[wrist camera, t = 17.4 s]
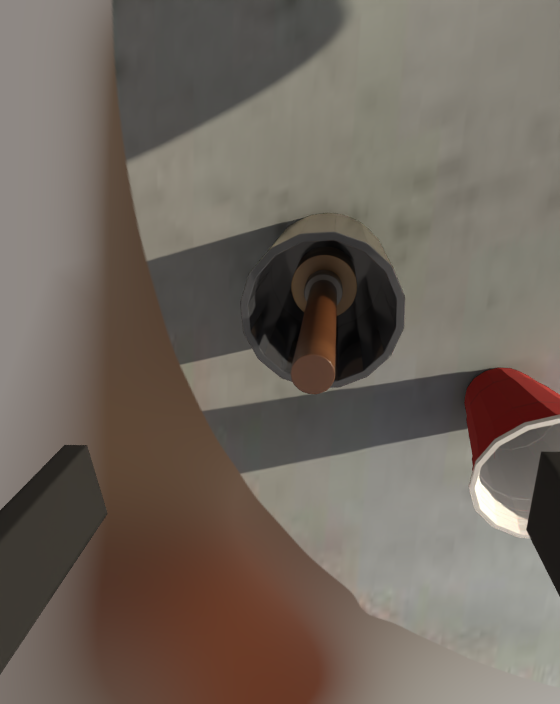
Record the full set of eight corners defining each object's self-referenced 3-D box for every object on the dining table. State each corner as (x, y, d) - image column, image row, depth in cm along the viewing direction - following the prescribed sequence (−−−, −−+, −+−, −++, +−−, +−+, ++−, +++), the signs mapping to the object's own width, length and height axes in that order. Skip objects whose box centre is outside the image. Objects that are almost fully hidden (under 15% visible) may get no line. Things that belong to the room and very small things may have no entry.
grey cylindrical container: (387, 208, 34) (407, 227, 24) (385, 328, 38) (402, 387, 28) (262, 217, 35) (232, 238, 25) (272, 331, 39) (250, 388, 29)
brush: (355, 244, 35) (369, 319, 18) (355, 304, 37) (369, 422, 20) (293, 248, 36) (252, 323, 19) (297, 306, 38) (262, 422, 21)
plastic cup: (437, 451, 42) (472, 552, 31) (432, 350, 38) (469, 425, 27) (560, 442, 40) (642, 547, 29) (567, 334, 36) (666, 408, 25)
